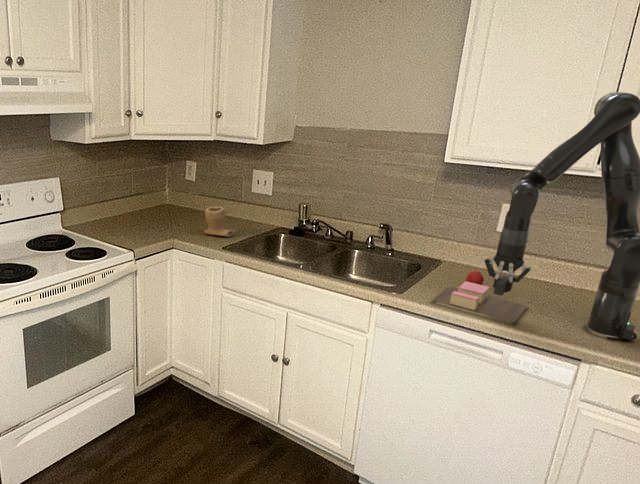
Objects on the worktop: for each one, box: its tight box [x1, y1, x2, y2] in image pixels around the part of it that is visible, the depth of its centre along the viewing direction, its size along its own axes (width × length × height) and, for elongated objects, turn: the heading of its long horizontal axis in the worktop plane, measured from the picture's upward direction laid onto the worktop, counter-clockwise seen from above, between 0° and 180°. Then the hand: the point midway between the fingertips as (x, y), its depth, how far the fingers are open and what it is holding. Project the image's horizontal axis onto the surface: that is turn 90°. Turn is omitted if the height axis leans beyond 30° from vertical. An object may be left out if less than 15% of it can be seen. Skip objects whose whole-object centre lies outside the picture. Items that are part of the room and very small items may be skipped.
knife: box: [493, 274, 509, 296], centre depth 177 cm, size 19×2×4 cm, turn 135°
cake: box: [457, 281, 491, 304], centre depth 190 cm, size 8×9×4 cm
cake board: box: [432, 286, 528, 324], centre depth 185 cm, size 25×20×1 cm
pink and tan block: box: [450, 291, 479, 310], centre depth 182 cm, size 8×3×4 cm, turn 46°
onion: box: [465, 268, 484, 285], centre depth 200 cm, size 6×6×8 cm
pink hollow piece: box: [204, 205, 237, 238], centre depth 267 cm, size 15×12×15 cm
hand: (501, 290), depth 175 cm, fingers closed on knife, 2 cm apart
